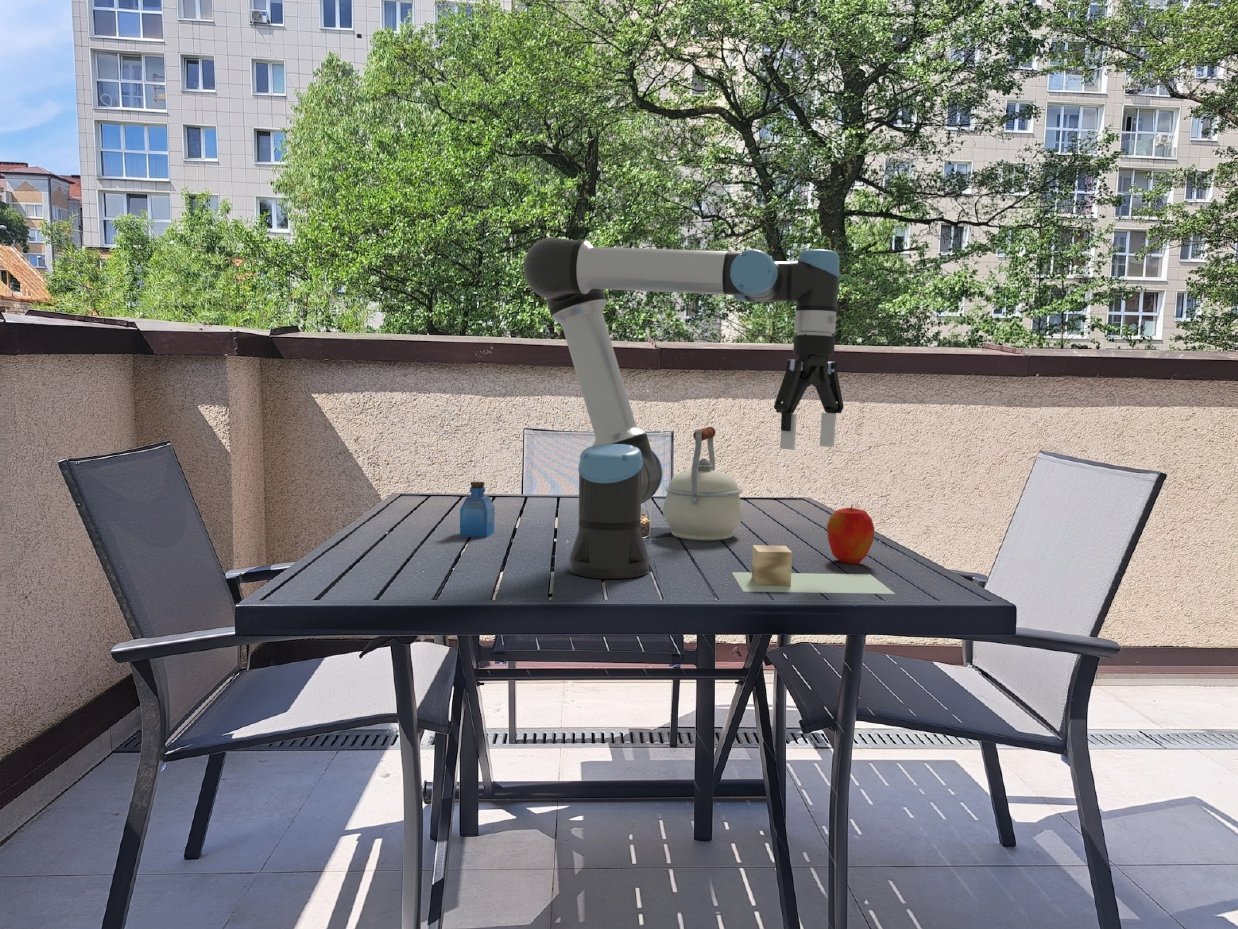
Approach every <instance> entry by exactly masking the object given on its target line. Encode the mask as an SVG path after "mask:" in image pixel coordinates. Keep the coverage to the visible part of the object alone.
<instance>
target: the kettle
mask: <svg viewBox="0 0 1238 929" xmlns="http://www.w3.org/2000/svg"><path fill="white" fill-rule="evenodd" d="M716 434H717V433H716V429H715V428H714V427H713V426H707V427H705V428H701V429H697V430H695V431H694V432H693V439H694V441H695V444H694V452H693V453H694V454H693V458H692V465H691V470H686V471H683V472H680V473H678V474H676V475H674V476H673V478H671V480H670V481H669V484H668V485H667V486H666V487H665V488H664V490H665V491H666V492H667V494H666V496H665V498H664V502H663V506H662V515H663V518H664V521H665V523H667V525H668V526H669V527H670V529H672V530H671V534H672V535H673V536H674V537H676V538H679V539H684V540H690V541H702V542H703V541H724V540H729V539H730V538H732V537H733V536H734V533H733V531H734V530H735V529H736V528H737V527H738V526H739V524H740V523H741V521H742V518H743V515H744V514H743V509H744V508H743V504H742V501H741V497H740V494H741V493H743V492H742V488H739V486H738V483H737V481H736V480H735V479H734V478H733V477H732V476H731V475H729V474H727V473H725V472H723V471H719V470H716V457H715V449H714V448H715V447H714V437H715V435H716ZM706 440H707V442H706V443H707V452H708V459H706V458H701V453H702V442H703V441H706Z"/></svg>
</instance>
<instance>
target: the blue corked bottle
mask: <svg viewBox="0 0 1238 929" xmlns="http://www.w3.org/2000/svg"><path fill="white" fill-rule="evenodd" d="M485 492H486V487H485V481H470V487H469V493H470V495H469V496H467V497H466V498H465V499H464V501H463V503H462V505H461V506H460V509H459V537H464V538H465V537H468V538H484V537H485V539H486V538H489V537H490V536H492V535H493V534H495V505H494V502H492V500H491V498H490V496H489V495H485Z"/></svg>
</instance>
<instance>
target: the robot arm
mask: <svg viewBox="0 0 1238 929" xmlns="http://www.w3.org/2000/svg"><path fill="white" fill-rule="evenodd" d="M523 276H524V278H525V281H526V283H527V285H528V287H529V288H530V290H532V291H533V292H534V294H537V296H540V297H542V298H544V299H546V303H547V307H548V310H549V313H550V317H551V319H552V320H553V321H555V322H557V323H558V324H560V325H561V327H562V330H563V333H564V337H565V340H566V344H567V346H568V351H569V353H570V357H571V361H572V364H573V367H574V369H575V374H576V377H577V378H576V379H577V380H578V384H579V387H580V390H581V393H582V398H583V401H584V404H585V407H586V411H587V414H588V417H589V419H590V420H589V421H590V425H591V428H592V431H593V434H594V437H595V439H594V441H593V444H592V445H591V446H588V447H586V448H585V449H583V450H582V451H581V453H580V455H579V463H578V530H577V533H576V536H575V539H574V543H573V545H572V548H571V552H570V555H569V557H568V558H569V559H568V572H570V573H571V574H573V575H576V576H581V577H587V578H592V579H604V580H605V579H607V580H608V579H609V580H610V579H611V580H613V579H615V580H616V579H617V580H619V579H630V578H637V577H641V576H644V575H647V574H648V573H649V572H650V571H649V570H650V558H649V554H648V552H647V548H646V545H645V543H644V542H645V541H644V538H643V535H642V530H641V524H642V523H641V520H642V518H641V517H642V513H641V512H642V504H644V503H646V502H647V501H649V500H650V499H651V498H653V496H654V495H655V494H656V493H657V491H658V490H659V488H660V486H661V484H662V481H663V473H664V472H663V465H662V463H661V460H660V458H659V457H658V455H657V454H656V452H655V451H654V450H652V447H651V444H650V440H649V437H648V434H647V432H646V430H643V429H642V428H640V427H638V425H637V424H636V419H635V417H634V412H633V410H632V407H631V403H630V400H629V397H628V394H627V390H626V387H625V384H624V383H625V382H624V380H623V377H622V372H621V370H620V366H619V363H618V360H617V356H616V353H615V350H614V347H613V343H612V341H611V336H610V332H609V331H608V326H607V324H606V320H605V317H604V314H603V313H604V309H605V308H606V305H607V304H608V301H607V297H606V292H605V290H615V291H618V290H619V291H636V292H637V291H640V292H641V291H643V292H658V293H659V292H663V293H685V294H686V293H687V294H707V295H708V294H709V295H728V296H733V298H734V300H736V301H739V302H749V303H756V302H759V303H760V302H761V303H762V302H766V303H769V302H770V303H771V302H772V303H775V302H776V303H777V302H778V303H779V302H781V303H782V302H784V303H786V302H787V303H795V305H796V307H795V315H794V318H795V319H794V332H795V333H797V335H795V336H794V337H793V351H792V353H793V355H795V356H797V357H798V358H797V359H793V358H792V359H791V358H790V359H787V362H786V368H785V369H786V370H785V373H784V376H783V379H782V382H781V384H780V388H779V390H778V392H777V393H778V394H777V395H776V398H775V402H774V405H773V408H774V409H775V411H776V413H778V414H781V418H780V442H779V443H780V444H779V445H780V446H779V449H780V450H781V449H784V450H792V451H793V450H794V451H795V449H796V435H797V433H796V432H797V431H796V430H797V420H798V419H797V418H798V417H797V416H798V415H797V414H796V413H795V411H796V409H797V407H798V405H799V403H800V401H801V400H802V398H803V396H804V394H805V392H806V390H807V388H809V387H810V386H813V387H815V390H816V392H817V395H818V397H819V400H820V403H821V405H822V407H823V410H824V412H821V420H820V421H821V422H820V434H819V436H820V437H819V446H820V447H825V448H827V447H828V448H834V446H835V436H836V435H835V434H836V423H837V422H836V420H837V414H842V413H843V409H844V400H843V397H842V390H841V386H840V384H841V383H840V380H839V373H838V362H837V361H828V360H829V357H833V356H834V355H835V347H836V346H835V343H836V340H835V339H836V338H835V337H834V336H832V335H833V334H835V333H836V327H837V326H836V324H837V320H838V319H837V309H838V299H839V298H838V297H839V285H840V255H839V254H838V253H837V252H836V251H834V250H829V249H819V248H818V249H803V250H801V251H800V253H799V255H798V258H797V260H794V261H779V260H778V261H777V260H775V259H773V258H772V256H771V255H769V253H767V252H764V251H763V250H760V249H759V250H758V249H747V250H744V251H727V250H726V251H725V250H724V251H723V250H698V249H695V250H694V249H693V250H692V249H673V248H672V249H665V248H642V247H641V248H640V247H639V248H637V247H611V246H610V247H609V246H608V247H607V246H606V247H605V246H601V247H600V246H593V245H592V244H591V242H589V241H588V240H576V239H574V240H573V239H567V238H566V239H565V238H562V237H561V238H560V237H547V238H543V239H541V240H539V241H537V242H536V243H535V244H533V245H532V246H531V247H530V248H529V250H528V252H527V253H526V255H525V259H524V262H523Z"/></svg>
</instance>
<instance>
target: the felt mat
mask: <svg viewBox="0 0 1238 929" xmlns="http://www.w3.org/2000/svg"><path fill="white" fill-rule="evenodd" d="M731 573H732V575H733V577H734V578H735V580H736V582H737V583H738V585H739V587H740V588H741V590H742V592H745V593H748V592H749V593H750V592H754V593H755V592H756V593H759V592H760V593H762V592H763V593H815V594H817V593H819V594H820V593H821V594H822V593H823V594H826V593H827V594H837V593H838V594H840V593H841V594H876V595H878V594H884V595H887V594H888V595H889V594H890V595H895V594H896V593H895V592H894V591H892V590H891V589H890V588H889V587H887V586H886V585H885V584H884V583H883V582H881V581H879V580H878V579H877V577H874V576H873V575H872V574H869V573H866V574H865V573H806V572H805V573H803V572H800V573H799V572H798V573H797V572H791V586H768V585H756V583H755V582H754V581H753V579H752V572H747V571H746V572H741V571H739V572H737V571H736V572H735V571H732V572H731Z"/></svg>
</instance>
